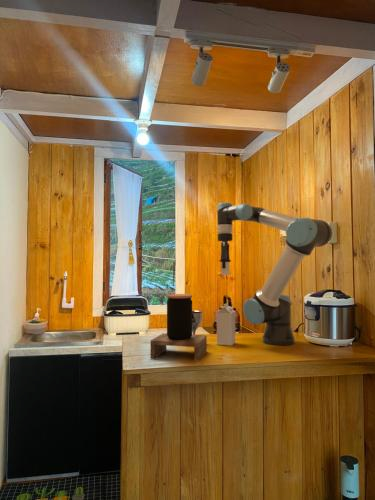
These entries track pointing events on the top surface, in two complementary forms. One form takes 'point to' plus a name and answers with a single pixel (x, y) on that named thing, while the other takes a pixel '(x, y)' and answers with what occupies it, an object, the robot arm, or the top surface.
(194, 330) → the wine glass
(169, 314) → the coffee jar
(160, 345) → the walnut shelf
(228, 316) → the milk carton
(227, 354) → the top surface
